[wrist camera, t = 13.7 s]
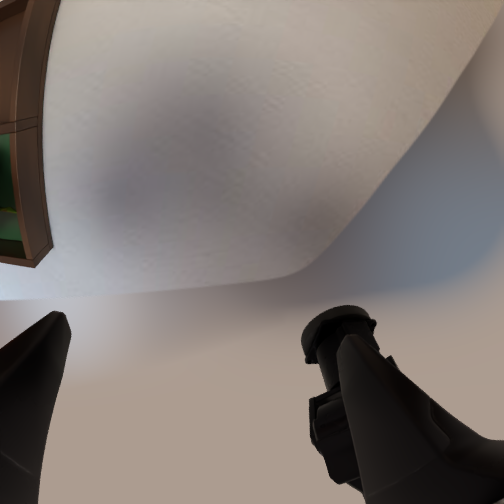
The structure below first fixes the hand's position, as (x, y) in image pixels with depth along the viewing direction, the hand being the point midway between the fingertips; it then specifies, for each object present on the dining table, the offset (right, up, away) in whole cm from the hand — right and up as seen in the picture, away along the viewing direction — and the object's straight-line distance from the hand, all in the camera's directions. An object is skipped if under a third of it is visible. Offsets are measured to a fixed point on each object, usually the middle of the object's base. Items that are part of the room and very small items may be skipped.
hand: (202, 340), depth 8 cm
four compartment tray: (-23, +13, +4) cm, 27 cm away
